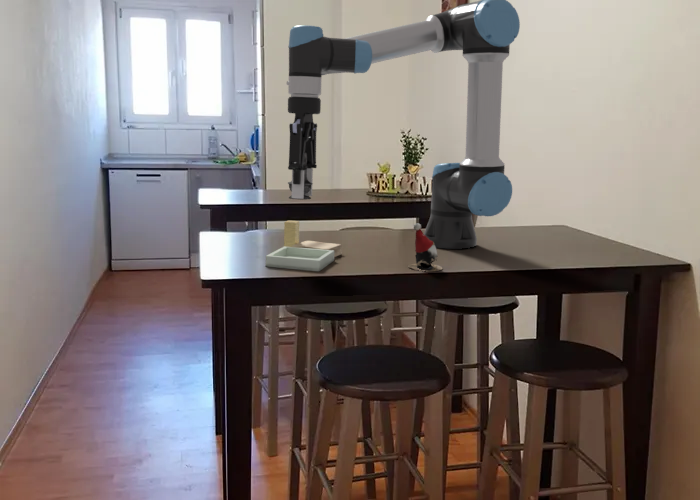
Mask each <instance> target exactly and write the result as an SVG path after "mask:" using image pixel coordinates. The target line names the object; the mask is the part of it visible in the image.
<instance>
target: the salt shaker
mask: <svg viewBox="0 0 700 500" xmlns="http://www.w3.org/2000/svg"><path fill="white" fill-rule="evenodd" d="M307 168H308V166H307V153H306V152H305V154H304V163H303V170H304V199H296V198H292V194H291V195H290V196H289V197H288V199H290V200H298V201H299V200H300V201H301V200H302V201H303V200H304V201H305V200H311V199H312V196H306V195H305V194H306V193H308V192H309V191H310V189H311V185H312V186H313V184H314V183H313V182H312V183H310V182H309V181H308V179H307ZM287 184H288V187H289V191H290V192H291V193H292V180H291V181H289V182H287Z"/></svg>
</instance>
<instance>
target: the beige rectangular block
mask: <svg viewBox="0 0 700 500" xmlns="http://www.w3.org/2000/svg"><path fill="white" fill-rule="evenodd" d="M292 247H298V248H310V249H322V250H334V258H335V257H336V258H337V257H338V256H340V255H342V244H341V243H331V242H321V241H316V240H315V241H314V240H304V241H301V242H299V243H297V244H294V245H292Z"/></svg>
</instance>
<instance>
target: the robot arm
mask: <svg viewBox="0 0 700 500" xmlns="http://www.w3.org/2000/svg"><path fill="white" fill-rule="evenodd" d="M520 25H521V23H520V16H519V13H518V11H517V10H516V8H515V7H514V6H513V5H512V3H511V2H509V1H508V0H478V1H477V0H476V1H473V2H468V3H467V2H466V3H463V4H460V5H458V6H455V7H453V8H450V9H448V10H445V11H441V12H439V13H436V14H432V15H429V16H427V17H426V18H425V20H422V21H418V22H413V23H408V24H405V25H404V24H403V25H399V26H395V27H390V28H386V29H382V30H377V31H372V32H368V33H364V34H359V35H358V34H357V35H354V36H350V37H344V38H336V37H328V36H324V33H323V32H324V31H323V28H322V27H321V26H317V25H316V26H315V25H308V24H307V25H306V24H305V25H301V24H299V25H295V26H292V27H291V28H290V30H289V37H288V39H289V41H288V80H287V81H286V85H287V86H288V87H287V89H288V90H287V91H288V92H287V93H288V94H289V95H290V96H289V97H288V98H287V112H288V113H289V114H294V115H295V116H294V120H293V122H290V123H289V127H288V128H289V148H288V149H289V150H288V153H289V154H288V166H287V169H288V170H290V171H291V181H292V192H291V195H292V198H296V199H295V200H298V199H304V170H303V163H304V154H305V152H306V153H307V166H308V168H307V179H308V181H309V182H310V183H313V175H314V174H313V173H314V169H317V130H318V124H317V123H315V122H314V117H313V115H320V113H321V109H322V108H321V105H322V104H321V102H322V101H321V99H320V97H319V96H321V95H322V76H326V75H330V74H343V73H350V74H364V73H367V72H368V71H369V70H370V68H371V65H372V64H376V63H377V64H378V63H381V62H387V61H389V60H394V59H398V58H403V57H406V56H410V55H415V54H419V53H423V52H428V51H431V52H432V53H437V54H438V53H441V52H446V51H448V52H449V51H462V57H463V58H464V59H465V60H466V61H467V64H468V66H467V69H468V71H467V72H468V73H467V97H466V98H467V100H466V102H467V103H466V130H465V131H466V132H465V157H464V158H463V159H462V160H461V161H460V162H447V163H446V162H445V163H438V164H436V165H434V167H433V171H432V177H431V180H432V181H431V186H432V187H431V203H430V217H429V219H428V222H427V225H426V227H425V229H424V233H423V234H424V235H425V236H426V237H427V238H428V239H429V240H430V241H433V242H434V245H435V247H436V248H438V249H446V250H447V249H451V250H463V249H462V248H468V249H471V248H470V247H474V246H476V247H477V243H478V238H477V234H476V230H475V226H474V222H473V215H474V216H475V215H476V216H478V217H494V216H498V214H500V213H502V212H503V211H504V209H506V208H507V207H508V205H509V204H510V202H511V200H512V196H513V184H512V182H511V181H512V180H510V179H509V177H508V176H507V175H506V174H505V165H506V164H505V163H504V161H502V159H501V158H500V141H501V137H500V136H501V115H502V114H501V113H502V88H503V63H504V61H505V60H506V59H507V58H509V56H510V45H511V44H512V43H513V42H514V41H515V39H516V38H517V37H518V35H519V32H520ZM305 195H306V196H309V197H312V196H313V184H312V185H311V189H310V191H309V192H308V193H306V194H305ZM474 248H475V247H474Z"/></svg>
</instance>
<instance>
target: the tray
mask: <svg viewBox="0 0 700 500" xmlns="http://www.w3.org/2000/svg"><path fill="white" fill-rule="evenodd" d="M334 261H335V257H334V250H322V249H310V248H298V247H286V246H284V245H283V246H281V248H278V249H277V250H274V251H273V252H271V253H269V254H267V255H265V267H266V268H267V267H268V268H277V269H279V268H280V269H290V270H299V271H300V270H301V271H309V272H310V271H312V272H320V271H321V270H323V269H324V268H326V267H327V266H328V265H330V264H332V263H333V262H334Z"/></svg>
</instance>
